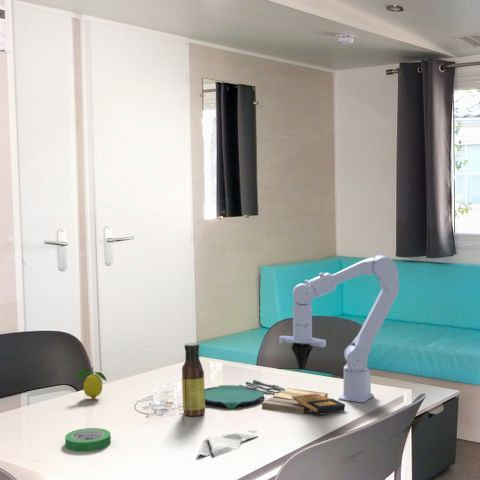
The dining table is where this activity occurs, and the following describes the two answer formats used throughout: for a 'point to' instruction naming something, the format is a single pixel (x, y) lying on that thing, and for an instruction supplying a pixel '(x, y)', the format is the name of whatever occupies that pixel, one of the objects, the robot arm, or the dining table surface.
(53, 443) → the dining table surface
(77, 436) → the tape roll
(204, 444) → the cloth
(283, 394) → the plank
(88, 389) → the lemon
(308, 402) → the ammunition clip
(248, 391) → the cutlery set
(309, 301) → the robot arm
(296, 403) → the floor row
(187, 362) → the sauce bottle
